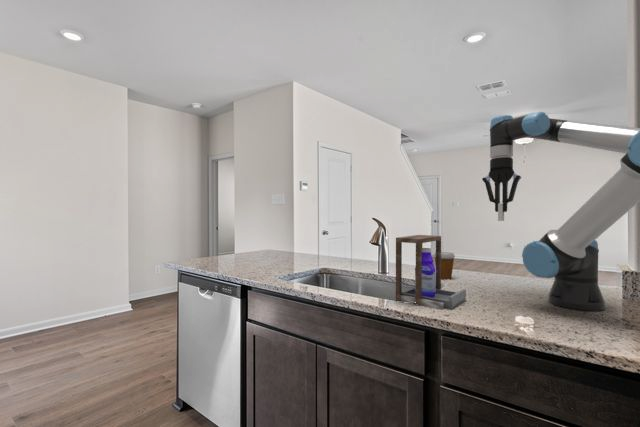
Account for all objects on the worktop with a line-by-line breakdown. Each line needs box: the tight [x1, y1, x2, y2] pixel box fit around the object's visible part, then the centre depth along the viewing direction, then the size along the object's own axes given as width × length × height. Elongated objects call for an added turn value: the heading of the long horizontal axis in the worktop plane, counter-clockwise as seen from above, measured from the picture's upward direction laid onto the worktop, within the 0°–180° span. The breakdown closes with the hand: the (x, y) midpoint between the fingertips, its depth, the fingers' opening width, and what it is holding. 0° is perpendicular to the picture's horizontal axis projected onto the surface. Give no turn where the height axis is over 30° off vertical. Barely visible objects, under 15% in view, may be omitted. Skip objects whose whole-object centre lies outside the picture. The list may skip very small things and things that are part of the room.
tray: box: [402, 286, 467, 310], centre depth 116 cm, size 18×14×4 cm
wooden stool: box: [395, 234, 445, 310], centre depth 117 cm, size 16×19×22 cm
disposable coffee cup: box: [433, 251, 456, 280], centre depth 154 cm, size 10×10×12 cm
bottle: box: [414, 247, 436, 297], centre depth 118 cm, size 7×6×17 cm
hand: (501, 220), depth 122 cm, fingers closed
